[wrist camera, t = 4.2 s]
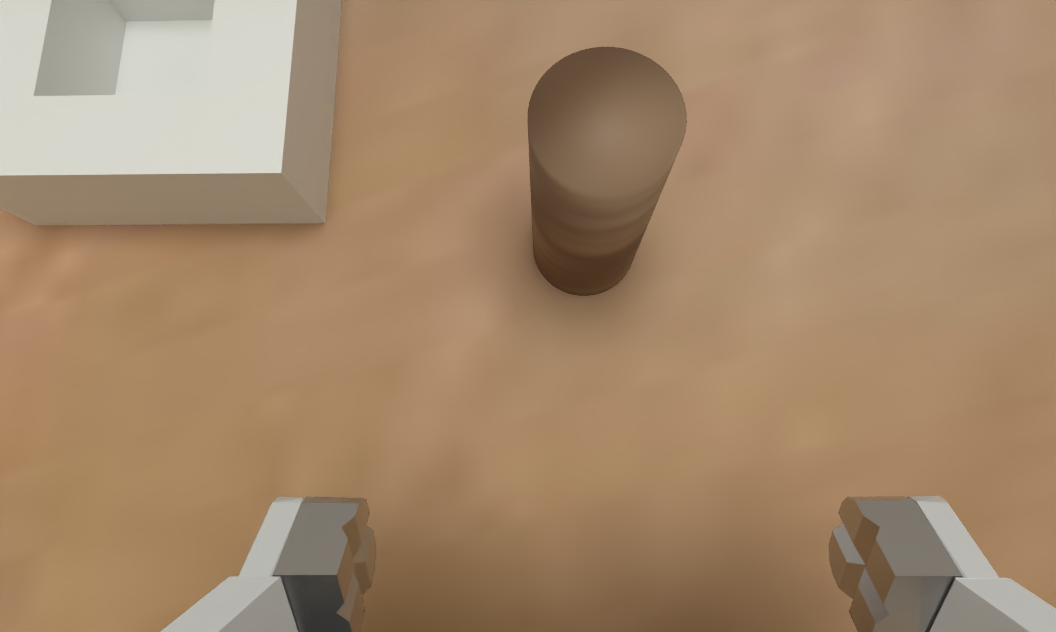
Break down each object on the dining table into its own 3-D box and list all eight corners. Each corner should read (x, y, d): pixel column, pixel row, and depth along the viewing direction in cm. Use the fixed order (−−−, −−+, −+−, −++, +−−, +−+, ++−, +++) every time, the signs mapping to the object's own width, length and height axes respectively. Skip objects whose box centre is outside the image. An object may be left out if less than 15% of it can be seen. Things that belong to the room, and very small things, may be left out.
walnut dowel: (654, 252, 26) (719, 124, 17) (578, 315, 26) (599, 222, 16) (588, 181, 27) (613, 19, 17) (512, 241, 27) (495, 109, 17)
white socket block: (327, 225, 27) (281, 172, 22) (40, 228, 28) (-68, 176, 23) (346, -26, 30) (308, -122, 25) (83, -22, 30) (-5, -116, 25)
